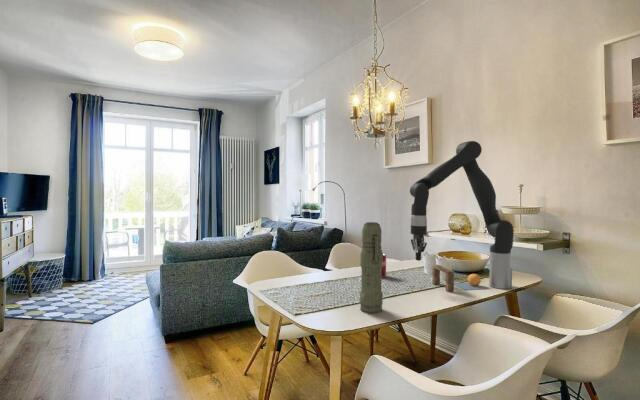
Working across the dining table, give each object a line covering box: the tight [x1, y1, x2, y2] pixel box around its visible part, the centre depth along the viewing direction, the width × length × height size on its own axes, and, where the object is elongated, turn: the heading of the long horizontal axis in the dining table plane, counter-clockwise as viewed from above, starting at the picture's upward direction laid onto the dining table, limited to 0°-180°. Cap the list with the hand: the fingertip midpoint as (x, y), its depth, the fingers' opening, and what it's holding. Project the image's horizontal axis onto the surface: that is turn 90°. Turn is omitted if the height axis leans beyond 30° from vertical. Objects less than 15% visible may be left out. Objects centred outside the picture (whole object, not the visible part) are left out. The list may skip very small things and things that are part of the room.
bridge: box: [431, 264, 455, 293], centre depth 176 cm, size 3×15×10 cm, turn 10°
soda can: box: [381, 253, 387, 279], centre depth 198 cm, size 7×7×12 cm
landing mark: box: [454, 282, 488, 291], centre depth 179 cm, size 12×12×1 cm
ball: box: [467, 273, 482, 286], centre depth 179 cm, size 6×6×6 cm
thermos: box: [359, 221, 384, 315], centre depth 143 cm, size 9×12×35 cm
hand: (418, 260), depth 173 cm, fingers closed
